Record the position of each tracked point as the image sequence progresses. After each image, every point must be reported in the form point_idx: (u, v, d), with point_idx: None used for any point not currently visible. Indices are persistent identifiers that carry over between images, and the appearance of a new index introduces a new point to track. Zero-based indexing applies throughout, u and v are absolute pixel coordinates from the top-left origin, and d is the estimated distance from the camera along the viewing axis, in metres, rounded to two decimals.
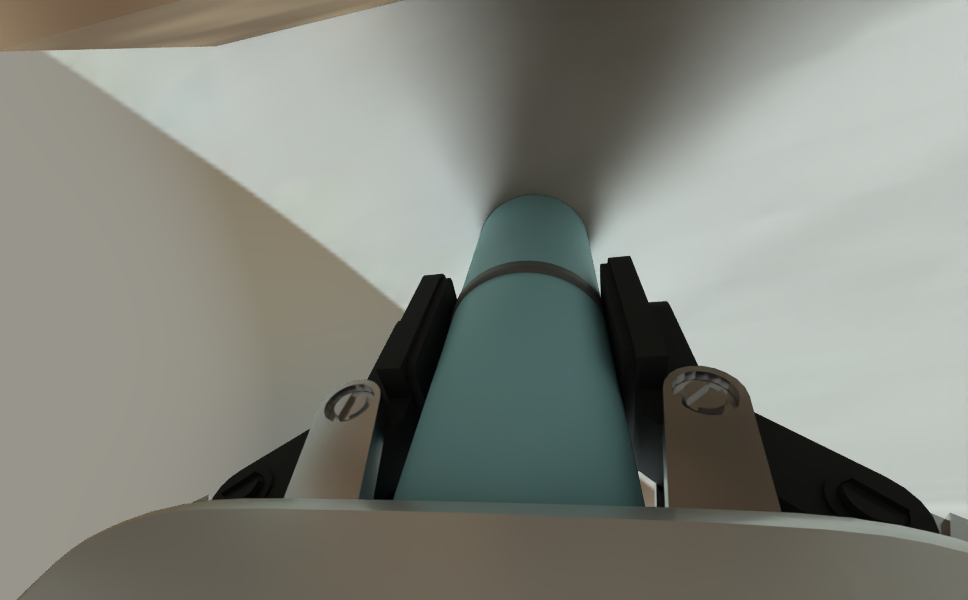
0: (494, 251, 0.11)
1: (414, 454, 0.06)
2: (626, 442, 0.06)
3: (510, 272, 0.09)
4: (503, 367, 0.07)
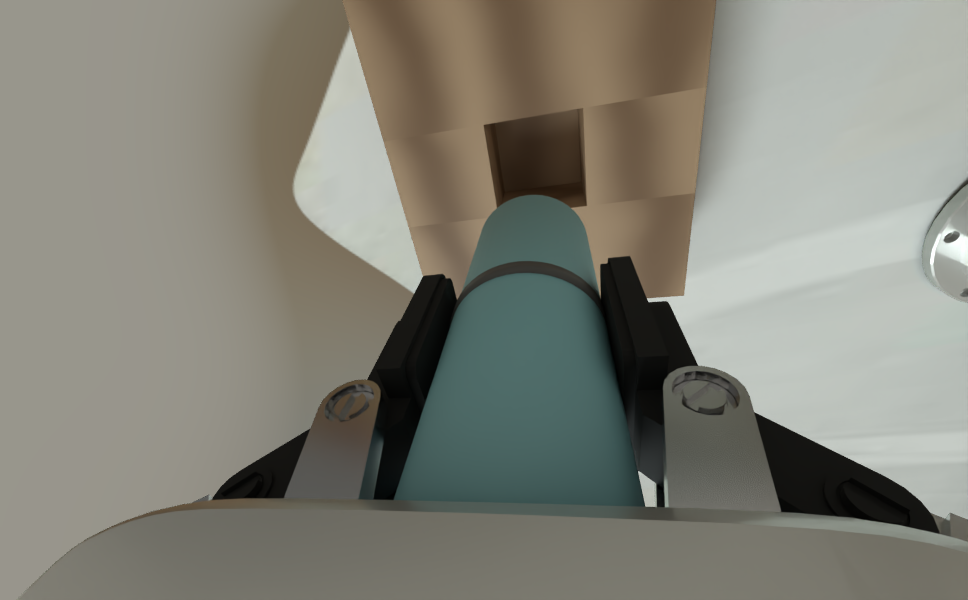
0: (494, 252, 0.11)
1: (414, 455, 0.06)
2: (626, 442, 0.06)
3: (510, 272, 0.09)
4: (503, 367, 0.07)
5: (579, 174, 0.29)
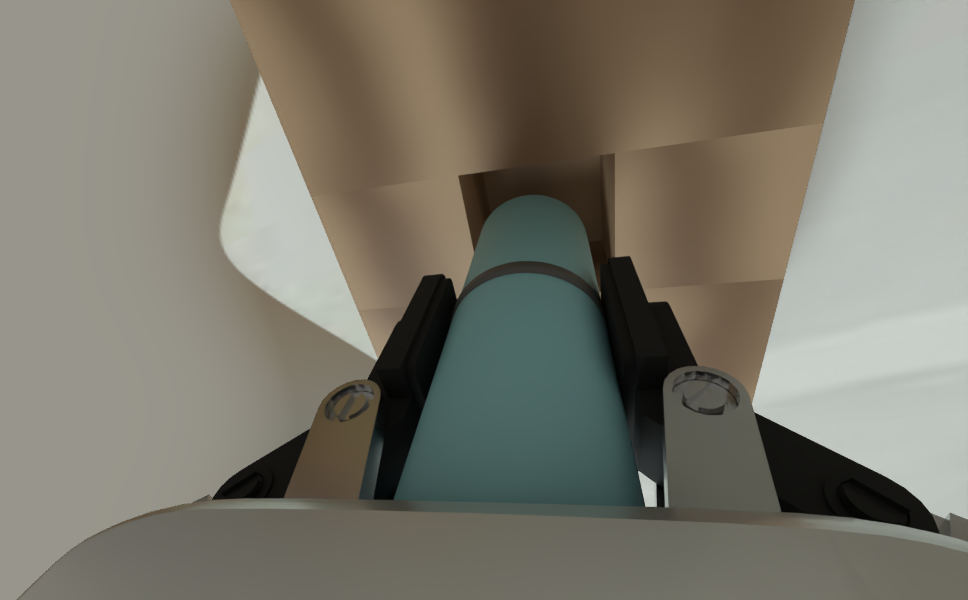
0: (494, 252, 0.11)
1: (414, 455, 0.06)
2: (626, 443, 0.06)
3: (510, 272, 0.09)
4: (503, 367, 0.07)
5: (600, 231, 0.20)
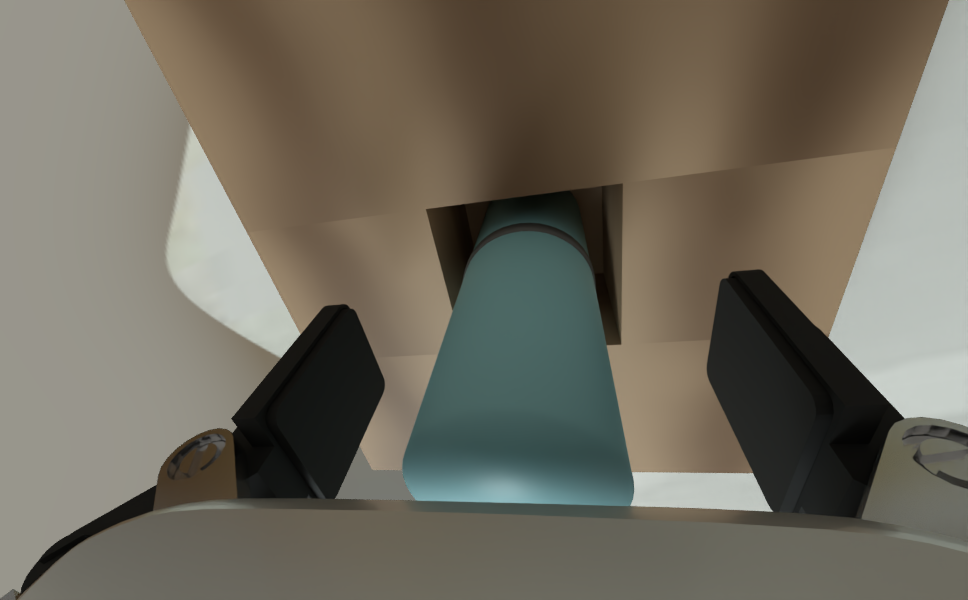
0: (500, 218, 0.13)
1: (443, 352, 0.08)
2: (602, 345, 0.08)
3: (514, 231, 0.11)
4: (509, 291, 0.09)
5: (601, 262, 0.17)
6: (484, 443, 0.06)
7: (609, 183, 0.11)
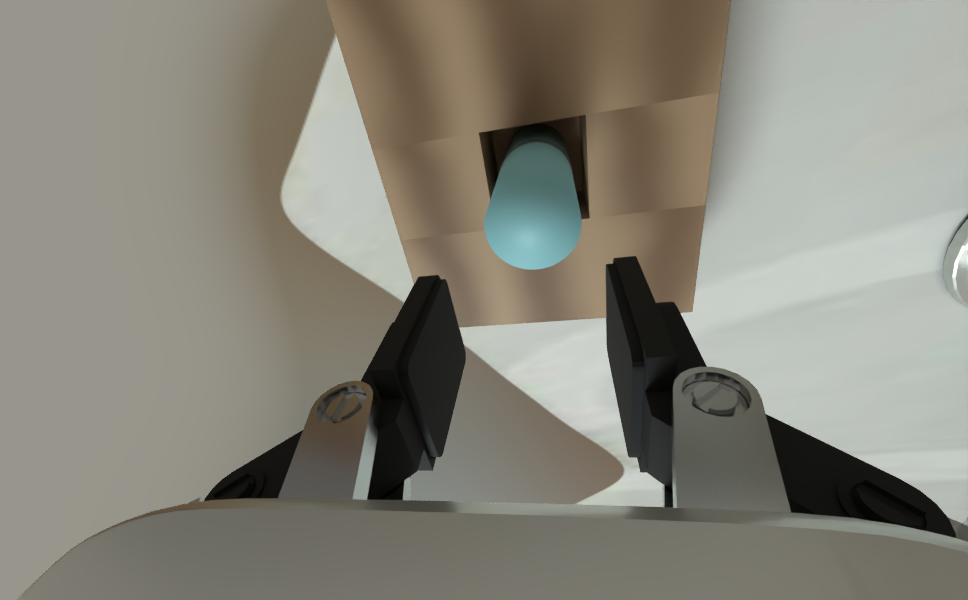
0: (519, 141, 0.22)
1: (498, 183, 0.18)
2: (572, 182, 0.18)
3: (528, 142, 0.21)
4: (528, 158, 0.18)
5: (581, 183, 0.27)
6: (521, 199, 0.16)
7: (578, 115, 0.20)
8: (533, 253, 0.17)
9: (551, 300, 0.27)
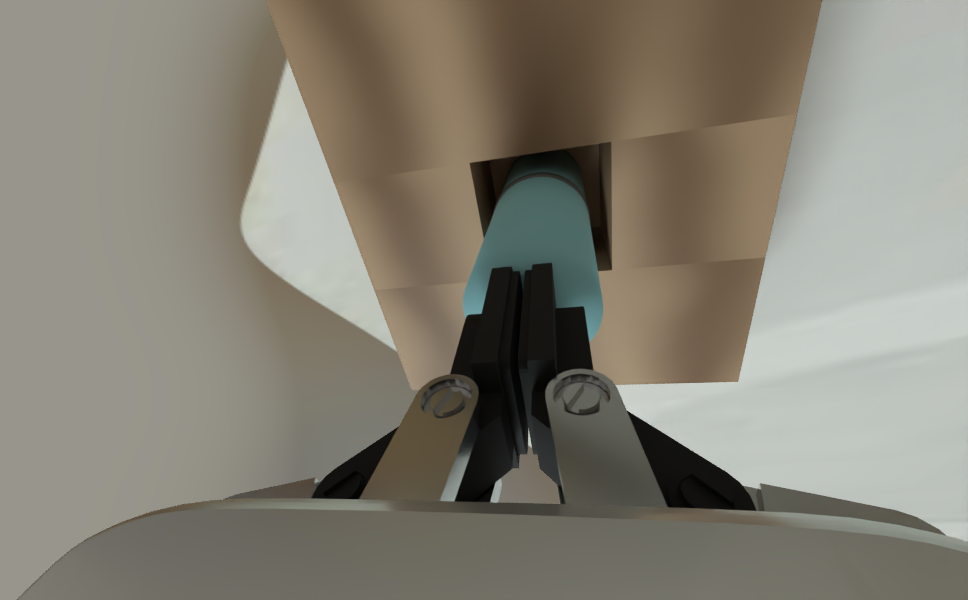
0: (521, 172, 0.17)
1: (486, 240, 0.13)
2: (589, 239, 0.13)
3: (531, 177, 0.16)
4: (528, 204, 0.13)
5: (599, 218, 0.22)
6: None
7: (602, 142, 0.15)
8: None
9: None
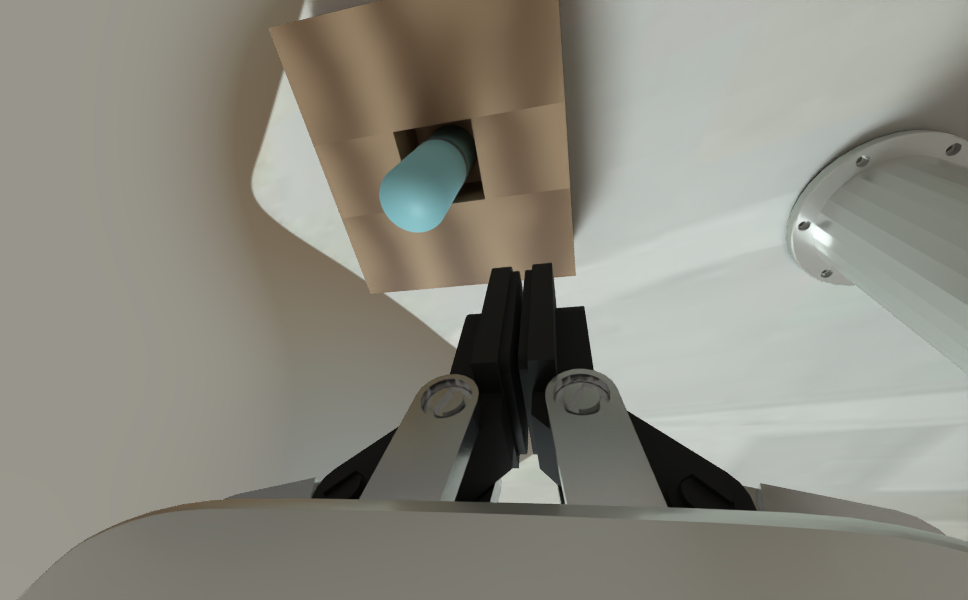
0: None
1: None
2: (449, 168, 0.24)
3: (429, 140, 0.27)
4: (418, 150, 0.25)
5: None
6: (402, 180, 0.22)
7: (465, 118, 0.27)
8: (417, 220, 0.23)
9: (464, 267, 0.33)
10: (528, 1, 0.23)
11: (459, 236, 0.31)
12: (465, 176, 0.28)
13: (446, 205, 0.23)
